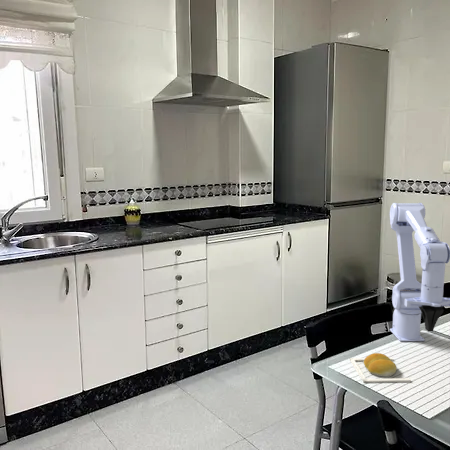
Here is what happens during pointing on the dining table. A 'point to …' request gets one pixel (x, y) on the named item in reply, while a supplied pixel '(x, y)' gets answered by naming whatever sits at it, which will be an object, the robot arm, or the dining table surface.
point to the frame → (375, 379)
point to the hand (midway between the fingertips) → (429, 330)
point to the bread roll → (380, 365)
